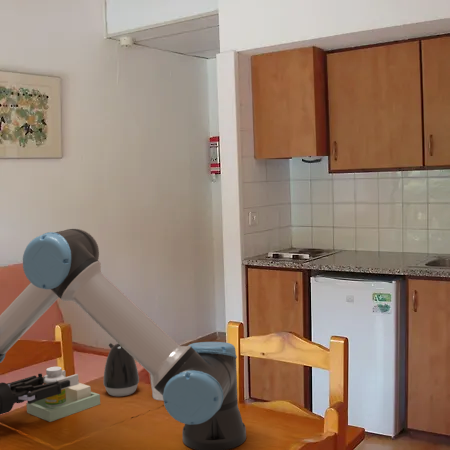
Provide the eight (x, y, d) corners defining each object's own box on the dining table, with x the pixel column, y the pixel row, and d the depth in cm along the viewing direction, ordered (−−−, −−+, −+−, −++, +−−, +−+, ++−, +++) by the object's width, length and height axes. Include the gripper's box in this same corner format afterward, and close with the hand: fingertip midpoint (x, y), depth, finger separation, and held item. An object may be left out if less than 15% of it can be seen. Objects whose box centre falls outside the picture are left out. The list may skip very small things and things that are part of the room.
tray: (100, 406, 175) (99, 394, 175) (50, 424, 163) (49, 411, 163) (76, 398, 182) (76, 386, 182) (27, 415, 170) (26, 402, 170)
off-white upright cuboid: (91, 404, 175) (90, 386, 175) (77, 408, 172) (76, 390, 171) (76, 398, 180) (75, 381, 179) (62, 403, 176) (61, 385, 176)
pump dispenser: (126, 386, 192) (124, 337, 191) (146, 394, 184) (144, 342, 183) (97, 395, 185) (94, 343, 184) (116, 403, 177) (114, 350, 176)
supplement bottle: (60, 407, 167) (58, 371, 167) (41, 407, 169) (39, 371, 168) (69, 400, 173) (67, 365, 172) (51, 400, 174) (49, 365, 173)
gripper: (-25, 407, 163) (52, 384, 180) (12, 424, 151) (92, 397, 168) (-27, 379, 163) (51, 358, 180) (10, 393, 150) (90, 369, 168)
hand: (70, 377), depth 174 cm, fingers closed on supplement bottle, 5 cm apart
